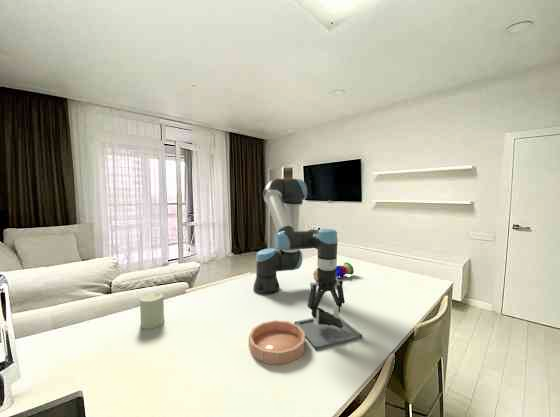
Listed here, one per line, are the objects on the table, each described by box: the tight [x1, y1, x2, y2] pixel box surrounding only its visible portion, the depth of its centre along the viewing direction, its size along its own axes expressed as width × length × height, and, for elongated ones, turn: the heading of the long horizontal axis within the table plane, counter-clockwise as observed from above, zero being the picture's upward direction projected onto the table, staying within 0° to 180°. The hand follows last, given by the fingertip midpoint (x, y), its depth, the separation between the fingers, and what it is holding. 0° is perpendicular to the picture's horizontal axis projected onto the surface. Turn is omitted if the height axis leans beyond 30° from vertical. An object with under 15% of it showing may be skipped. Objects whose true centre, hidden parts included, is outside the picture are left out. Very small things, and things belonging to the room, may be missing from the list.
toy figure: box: [336, 262, 354, 278], centre depth 164 cm, size 9×10×15 cm
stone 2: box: [310, 307, 343, 328], centre depth 98 cm, size 7×13×5 cm, turn 56°
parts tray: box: [293, 313, 363, 351], centre depth 98 cm, size 18×20×1 cm
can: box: [139, 292, 165, 330], centre depth 105 cm, size 9×9×12 cm
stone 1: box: [312, 267, 318, 283], centre depth 151 cm, size 13×10×10 cm
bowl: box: [248, 319, 306, 366], centre depth 89 cm, size 20×20×4 cm
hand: (326, 322), depth 99 cm, fingers closed on stone 2, 8 cm apart
